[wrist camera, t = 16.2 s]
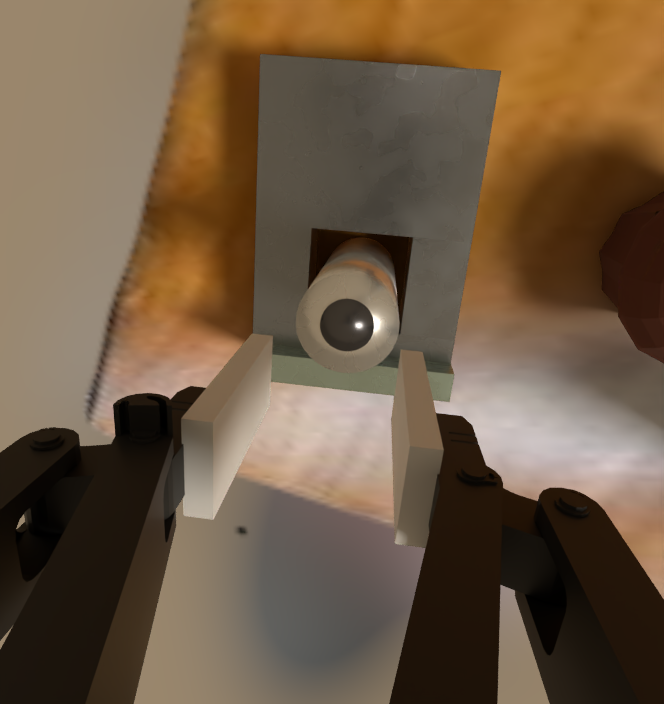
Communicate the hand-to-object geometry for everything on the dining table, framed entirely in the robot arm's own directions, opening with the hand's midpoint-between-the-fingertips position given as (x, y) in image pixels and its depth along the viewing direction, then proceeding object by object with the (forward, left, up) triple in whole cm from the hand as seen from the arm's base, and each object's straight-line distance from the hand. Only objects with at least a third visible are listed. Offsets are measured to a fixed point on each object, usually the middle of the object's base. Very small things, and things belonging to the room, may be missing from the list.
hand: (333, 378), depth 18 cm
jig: (-3, 0, -21) cm, 21 cm away
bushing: (0, 0, -21) cm, 21 cm away
